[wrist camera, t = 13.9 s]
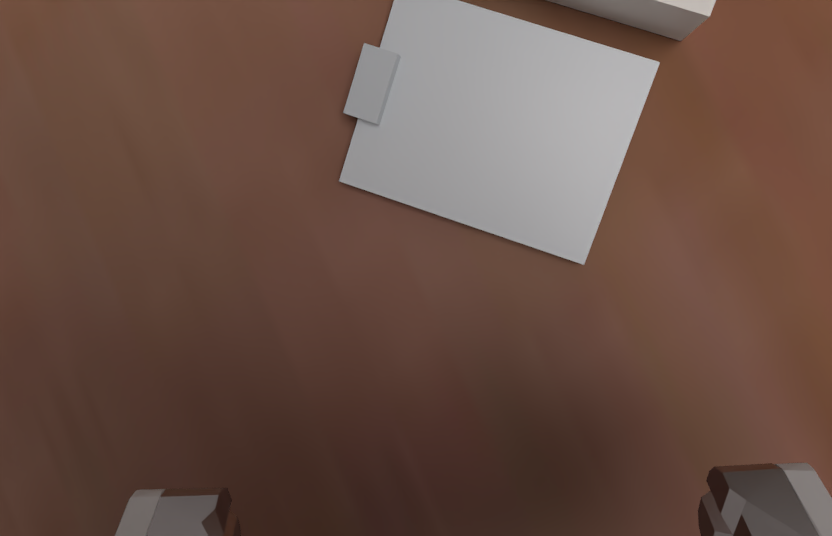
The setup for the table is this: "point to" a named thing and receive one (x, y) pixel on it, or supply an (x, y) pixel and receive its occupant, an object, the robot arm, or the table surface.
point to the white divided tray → (649, 13)
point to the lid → (494, 122)
